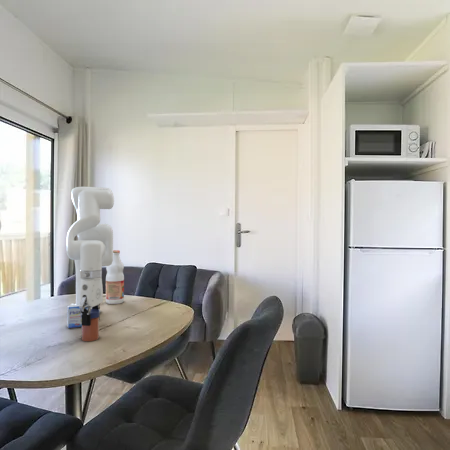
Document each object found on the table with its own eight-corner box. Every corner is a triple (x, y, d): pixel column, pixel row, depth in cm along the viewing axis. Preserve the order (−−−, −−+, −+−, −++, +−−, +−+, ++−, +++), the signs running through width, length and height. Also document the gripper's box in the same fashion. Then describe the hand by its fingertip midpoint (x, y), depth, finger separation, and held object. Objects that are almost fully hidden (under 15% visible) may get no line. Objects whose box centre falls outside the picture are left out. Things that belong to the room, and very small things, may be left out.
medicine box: (67, 328, 151) (67, 307, 151) (66, 325, 155) (67, 305, 155) (88, 326, 155) (88, 305, 155) (86, 323, 159) (87, 303, 159)
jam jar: (78, 340, 136) (78, 314, 136) (88, 335, 142) (88, 310, 142) (92, 342, 135) (92, 316, 134) (102, 336, 141) (102, 311, 140)
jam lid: (94, 319, 134) (94, 314, 134) (77, 318, 135) (77, 313, 135) (102, 314, 141) (102, 309, 141) (86, 313, 142) (86, 308, 142)
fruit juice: (102, 302, 200) (102, 250, 199) (118, 299, 206) (118, 249, 206) (110, 305, 193) (111, 251, 193) (127, 302, 200) (127, 250, 199)
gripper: (90, 278, 129) (89, 329, 129) (110, 272, 146) (110, 317, 146) (69, 277, 130) (69, 329, 130) (92, 271, 147) (91, 316, 147)
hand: (90, 322), depth 138 cm, fingers closed on jam lid, 6 cm apart
